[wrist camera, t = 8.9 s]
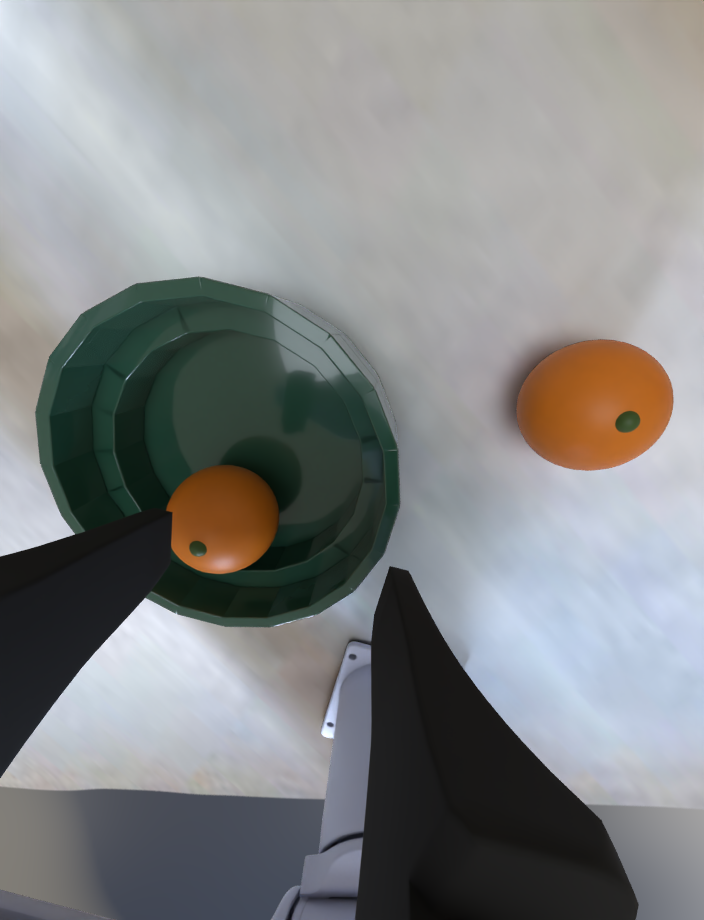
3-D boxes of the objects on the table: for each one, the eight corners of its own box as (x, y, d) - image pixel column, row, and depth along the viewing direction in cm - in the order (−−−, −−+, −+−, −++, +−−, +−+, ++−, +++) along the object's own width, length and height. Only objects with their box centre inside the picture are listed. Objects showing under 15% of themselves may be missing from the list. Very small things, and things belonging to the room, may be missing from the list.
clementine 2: (584, 459, 18) (665, 510, 12) (484, 433, 18) (524, 474, 12) (638, 354, 16) (760, 364, 11) (527, 326, 16) (594, 322, 11)
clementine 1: (282, 544, 20) (247, 615, 15) (196, 522, 20) (133, 585, 15) (298, 464, 18) (264, 514, 13) (204, 440, 18) (134, 480, 13)
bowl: (357, 589, 22) (349, 660, 17) (123, 528, 22) (50, 581, 17) (435, 339, 16) (454, 341, 12) (122, 258, 16) (16, 229, 12)
